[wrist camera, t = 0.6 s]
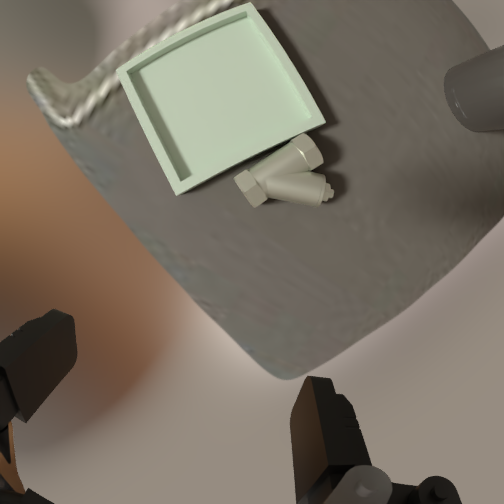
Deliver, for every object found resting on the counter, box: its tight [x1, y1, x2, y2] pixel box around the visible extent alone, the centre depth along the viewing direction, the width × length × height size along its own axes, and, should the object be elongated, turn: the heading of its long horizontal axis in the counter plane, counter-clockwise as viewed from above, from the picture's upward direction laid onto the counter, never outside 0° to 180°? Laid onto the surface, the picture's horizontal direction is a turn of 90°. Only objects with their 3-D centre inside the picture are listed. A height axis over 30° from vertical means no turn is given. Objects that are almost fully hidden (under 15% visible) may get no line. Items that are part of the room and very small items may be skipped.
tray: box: [116, 2, 326, 196], centre depth 26 cm, size 16×16×2 cm
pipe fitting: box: [233, 133, 334, 208], centre depth 27 cm, size 8×4×7 cm
